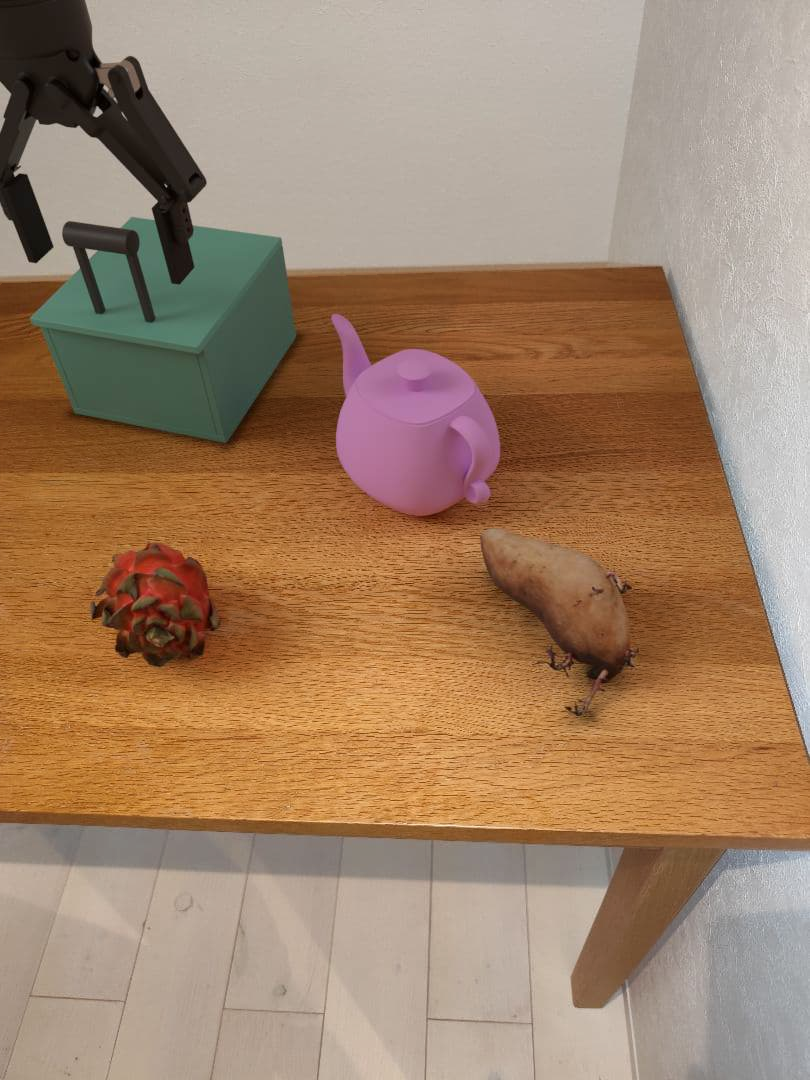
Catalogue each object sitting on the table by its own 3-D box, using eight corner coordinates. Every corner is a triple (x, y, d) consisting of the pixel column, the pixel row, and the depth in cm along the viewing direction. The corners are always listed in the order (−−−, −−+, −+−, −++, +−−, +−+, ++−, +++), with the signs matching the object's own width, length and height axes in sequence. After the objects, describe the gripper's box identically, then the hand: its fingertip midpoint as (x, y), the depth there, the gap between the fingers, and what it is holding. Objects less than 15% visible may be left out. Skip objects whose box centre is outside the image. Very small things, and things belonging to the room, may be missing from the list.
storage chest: (226, 443, 85) (203, 349, 77) (74, 413, 88) (37, 321, 80) (296, 336, 96) (282, 245, 88) (158, 314, 99) (133, 224, 91)
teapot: (540, 486, 79) (552, 381, 71) (428, 564, 74) (426, 459, 65) (394, 383, 90) (389, 280, 81) (287, 445, 84) (268, 341, 75)
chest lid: (199, 354, 76) (174, 256, 69) (32, 325, 80) (-8, 229, 73) (282, 244, 88) (268, 150, 81) (133, 223, 91) (107, 132, 84)
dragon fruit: (201, 704, 67) (142, 617, 75) (266, 614, 67) (199, 536, 75) (109, 680, 61) (54, 588, 69) (179, 580, 60) (115, 499, 68)
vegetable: (402, 593, 68) (453, 485, 63) (487, 569, 76) (538, 471, 71) (557, 736, 60) (628, 625, 56) (632, 692, 69) (700, 592, 64)
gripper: (213, -30, 59) (264, 260, 75) (-98, -48, 64) (10, 225, 80) (159, 9, 54) (226, 310, 70) (-172, -14, 60) (-41, 269, 76)
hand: (111, 265), depth 75 cm, fingers open, 13 cm apart
